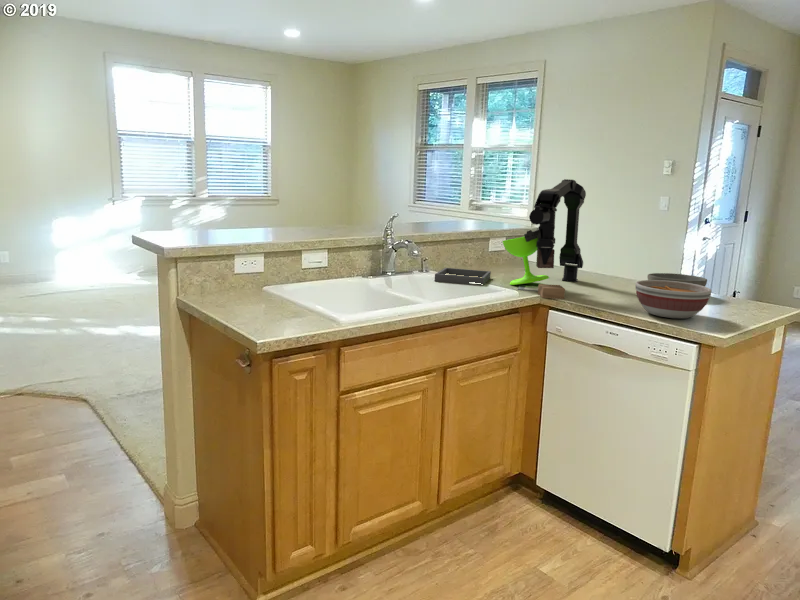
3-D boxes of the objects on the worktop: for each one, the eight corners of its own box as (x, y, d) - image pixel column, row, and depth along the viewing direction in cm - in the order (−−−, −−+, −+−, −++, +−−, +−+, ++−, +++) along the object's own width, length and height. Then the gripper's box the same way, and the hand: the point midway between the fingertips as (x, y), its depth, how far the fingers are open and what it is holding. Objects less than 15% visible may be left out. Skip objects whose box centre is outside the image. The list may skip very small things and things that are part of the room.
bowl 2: (671, 325, 186) (675, 293, 184) (617, 309, 206) (620, 280, 204) (723, 321, 195) (728, 290, 193) (667, 306, 215) (670, 278, 213)
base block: (537, 294, 230) (538, 284, 229) (558, 295, 230) (559, 285, 229) (542, 298, 222) (543, 287, 221) (564, 299, 222) (565, 288, 221)
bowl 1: (645, 297, 232) (647, 276, 230) (645, 289, 251) (647, 270, 249) (706, 303, 224) (709, 282, 222) (702, 294, 243) (705, 274, 241)
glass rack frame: (445, 274, 267) (445, 267, 267) (490, 278, 262) (490, 271, 261) (434, 281, 248) (434, 274, 248) (483, 285, 243) (483, 278, 242)
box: (551, 266, 240) (552, 248, 239) (553, 268, 234) (554, 249, 233) (536, 266, 241) (536, 247, 239) (537, 268, 235) (538, 249, 233)
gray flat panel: (520, 285, 246) (520, 284, 246) (555, 288, 242) (555, 287, 242) (517, 289, 236) (517, 288, 236) (554, 293, 233) (554, 291, 232)
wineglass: (504, 283, 254) (497, 241, 253) (541, 276, 256) (534, 234, 254) (516, 285, 238) (508, 240, 237) (555, 277, 240) (547, 232, 238)
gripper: (528, 221, 245) (526, 259, 248) (523, 224, 228) (521, 265, 231) (556, 222, 242) (554, 261, 245) (554, 225, 225) (551, 266, 228)
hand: (545, 263), depth 237 cm, fingers closed on box, 6 cm apart
